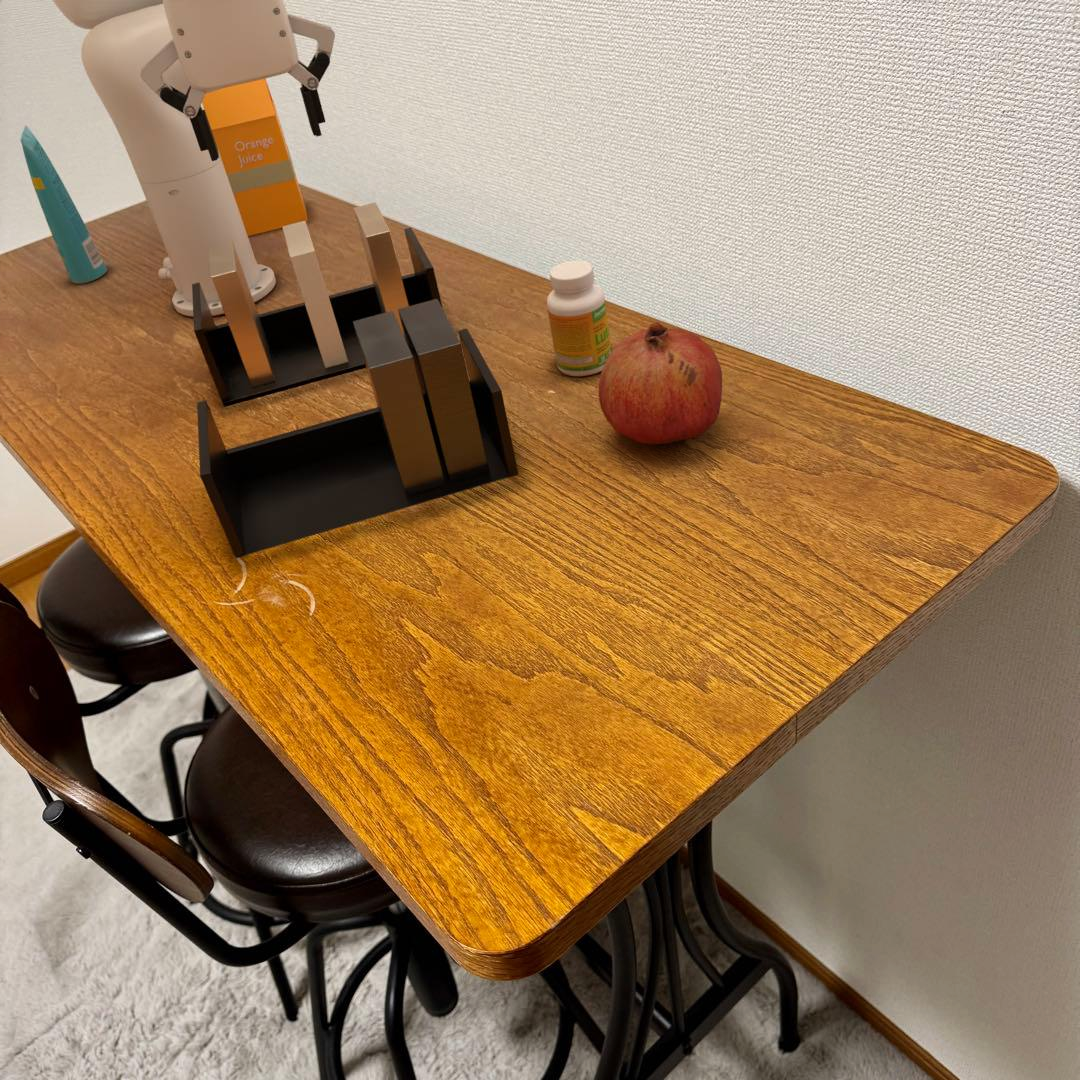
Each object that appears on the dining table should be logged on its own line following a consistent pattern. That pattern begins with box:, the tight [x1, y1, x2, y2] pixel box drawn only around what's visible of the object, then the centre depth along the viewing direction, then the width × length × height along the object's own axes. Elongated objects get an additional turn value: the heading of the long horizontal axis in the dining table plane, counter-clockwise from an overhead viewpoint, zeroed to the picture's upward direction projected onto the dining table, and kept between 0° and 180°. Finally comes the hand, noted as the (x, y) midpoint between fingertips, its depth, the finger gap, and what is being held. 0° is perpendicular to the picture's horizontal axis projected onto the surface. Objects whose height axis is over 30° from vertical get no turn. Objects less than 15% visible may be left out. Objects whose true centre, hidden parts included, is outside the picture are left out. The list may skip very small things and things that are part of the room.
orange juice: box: [201, 78, 309, 237], centre depth 141 cm, size 8×9×20 cm
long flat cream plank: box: [281, 221, 348, 368], centre depth 106 cm, size 2×9×12 cm, turn 16°
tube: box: [19, 125, 108, 284], centre depth 135 cm, size 7×5×19 cm, turn 23°
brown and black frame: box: [192, 202, 444, 408], centre depth 107 cm, size 24×12×13 cm, turn 106°
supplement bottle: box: [546, 260, 612, 377], centre depth 98 cm, size 5×5×10 cm
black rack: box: [196, 299, 519, 559], centre depth 86 cm, size 24×12×13 cm, turn 106°
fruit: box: [598, 321, 723, 445], centre depth 86 cm, size 11×10×10 cm
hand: (266, 144), depth 98 cm, fingers open, 9 cm apart
